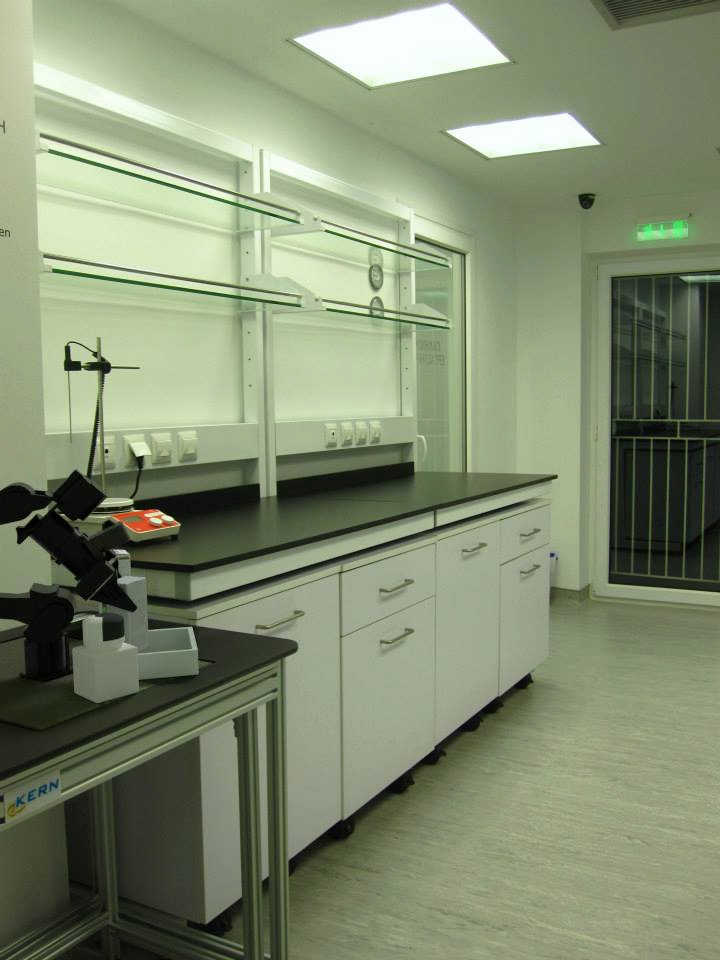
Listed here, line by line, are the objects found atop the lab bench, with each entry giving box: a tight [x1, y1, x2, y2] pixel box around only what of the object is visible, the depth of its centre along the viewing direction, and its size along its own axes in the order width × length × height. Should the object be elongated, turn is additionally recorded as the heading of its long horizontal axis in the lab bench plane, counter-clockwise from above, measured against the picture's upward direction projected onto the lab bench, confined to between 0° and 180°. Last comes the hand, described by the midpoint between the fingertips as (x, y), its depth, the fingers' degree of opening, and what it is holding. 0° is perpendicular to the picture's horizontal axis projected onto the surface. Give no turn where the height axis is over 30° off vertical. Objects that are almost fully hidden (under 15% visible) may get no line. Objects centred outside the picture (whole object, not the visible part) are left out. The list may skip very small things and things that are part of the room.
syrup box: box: [98, 549, 132, 613], centre depth 179 cm, size 6×6×14 cm
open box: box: [137, 626, 200, 681], centre depth 151 cm, size 11×16×4 cm
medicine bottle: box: [71, 612, 140, 704], centre depth 136 cm, size 7×7×12 cm
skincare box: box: [106, 575, 149, 652], centre depth 149 cm, size 6×4×12 cm
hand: (135, 605), depth 149 cm, fingers closed on skincare box, 7 cm apart
